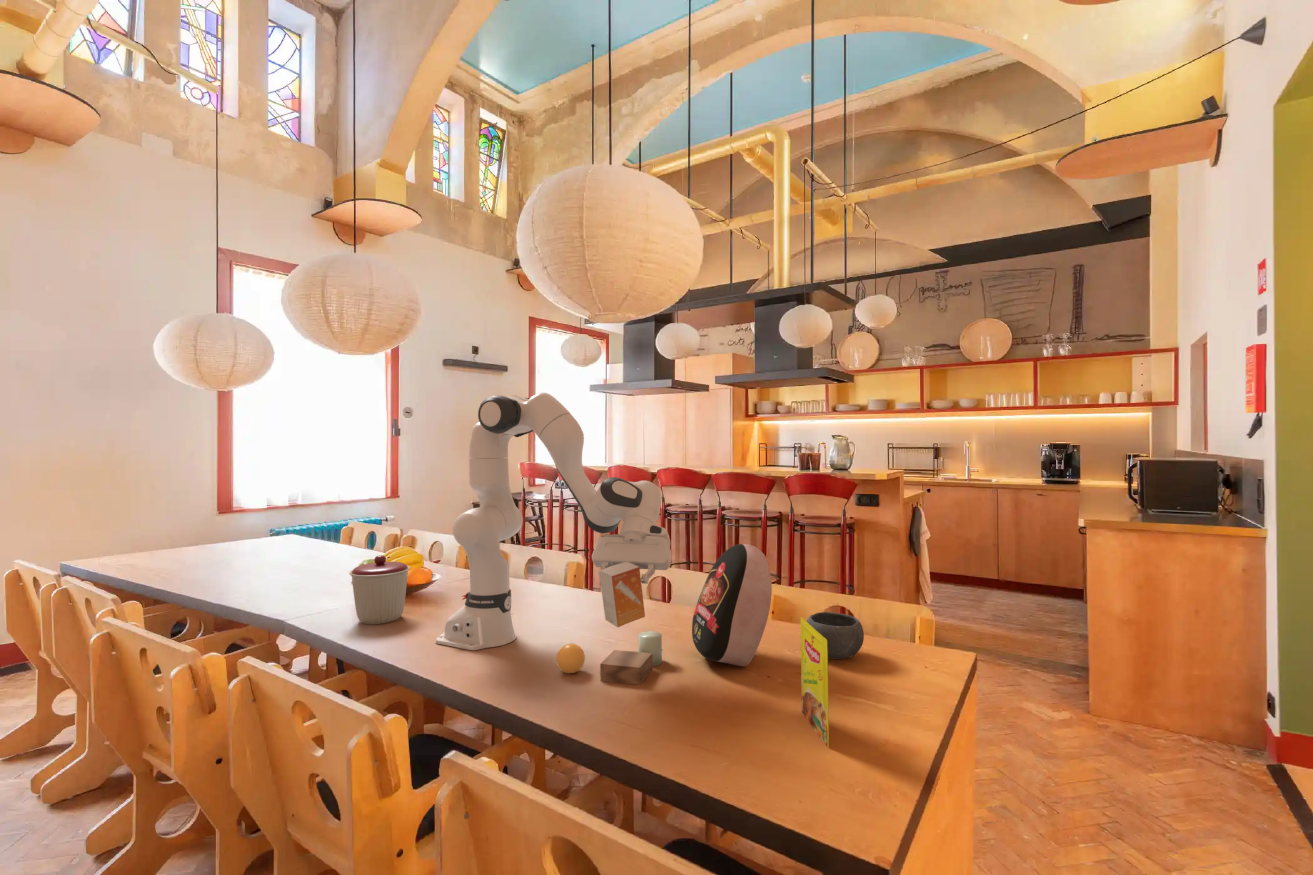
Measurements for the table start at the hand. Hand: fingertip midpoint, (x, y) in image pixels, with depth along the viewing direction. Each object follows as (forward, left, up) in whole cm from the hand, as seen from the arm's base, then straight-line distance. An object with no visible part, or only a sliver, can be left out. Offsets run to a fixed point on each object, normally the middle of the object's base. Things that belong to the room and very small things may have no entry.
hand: (625, 581), depth 148 cm
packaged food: (+23, +18, -23) cm, 37 cm away
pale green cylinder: (+3, +11, -23) cm, 26 cm away
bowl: (+49, +27, -23) cm, 60 cm away
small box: (0, 0, -9) cm, 9 cm away
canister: (-93, +25, -23) cm, 99 cm away
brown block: (0, +1, -23) cm, 23 cm away
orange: (-14, -1, -20) cm, 24 cm away
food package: (+45, -16, -23) cm, 53 cm away
